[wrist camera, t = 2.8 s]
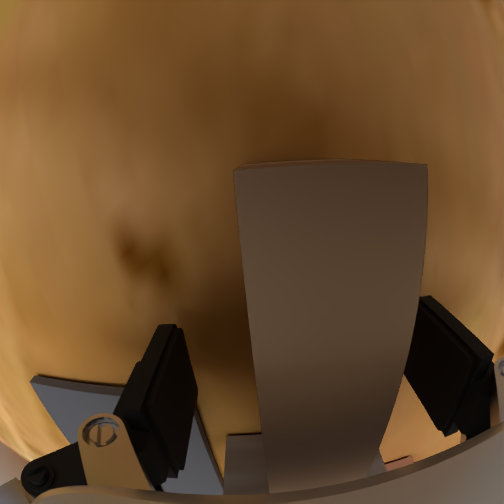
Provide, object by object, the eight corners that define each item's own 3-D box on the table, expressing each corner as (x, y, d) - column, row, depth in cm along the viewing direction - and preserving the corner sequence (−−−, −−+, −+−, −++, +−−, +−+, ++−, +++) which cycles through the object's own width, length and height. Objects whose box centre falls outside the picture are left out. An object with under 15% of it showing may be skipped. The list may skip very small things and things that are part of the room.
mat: (34, 375, 11) (29, 382, 11) (190, 390, 11) (188, 399, 11) (129, 502, 16) (128, 507, 15) (236, 512, 16) (236, 518, 15)
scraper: (176, 172, 9) (64, 201, 3) (393, 158, 9) (539, 176, 3) (229, 448, 13) (225, 548, 7) (363, 431, 13) (394, 523, 7)
